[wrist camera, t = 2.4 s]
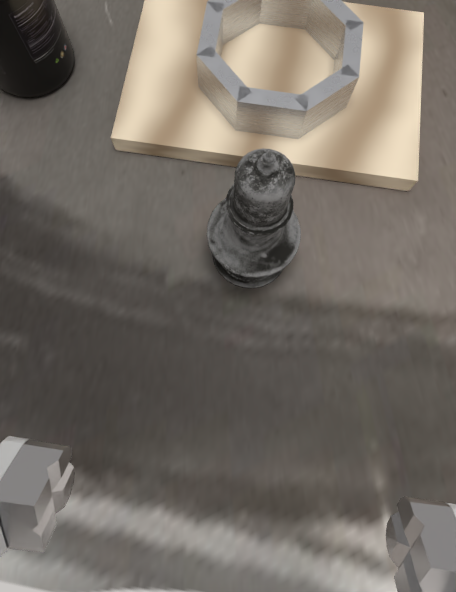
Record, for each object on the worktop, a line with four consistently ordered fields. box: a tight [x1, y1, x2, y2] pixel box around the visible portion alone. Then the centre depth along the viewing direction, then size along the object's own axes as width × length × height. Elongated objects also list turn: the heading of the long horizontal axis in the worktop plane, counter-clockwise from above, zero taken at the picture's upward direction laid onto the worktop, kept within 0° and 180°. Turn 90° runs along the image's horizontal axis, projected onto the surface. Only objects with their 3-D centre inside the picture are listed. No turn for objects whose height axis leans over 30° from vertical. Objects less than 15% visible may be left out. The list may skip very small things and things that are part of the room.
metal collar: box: [196, 0, 364, 139], centre depth 30 cm, size 11×11×3 cm
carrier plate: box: [111, 0, 424, 191], centre depth 32 cm, size 22×15×2 cm
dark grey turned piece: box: [207, 148, 301, 288], centre depth 24 cm, size 6×6×12 cm
